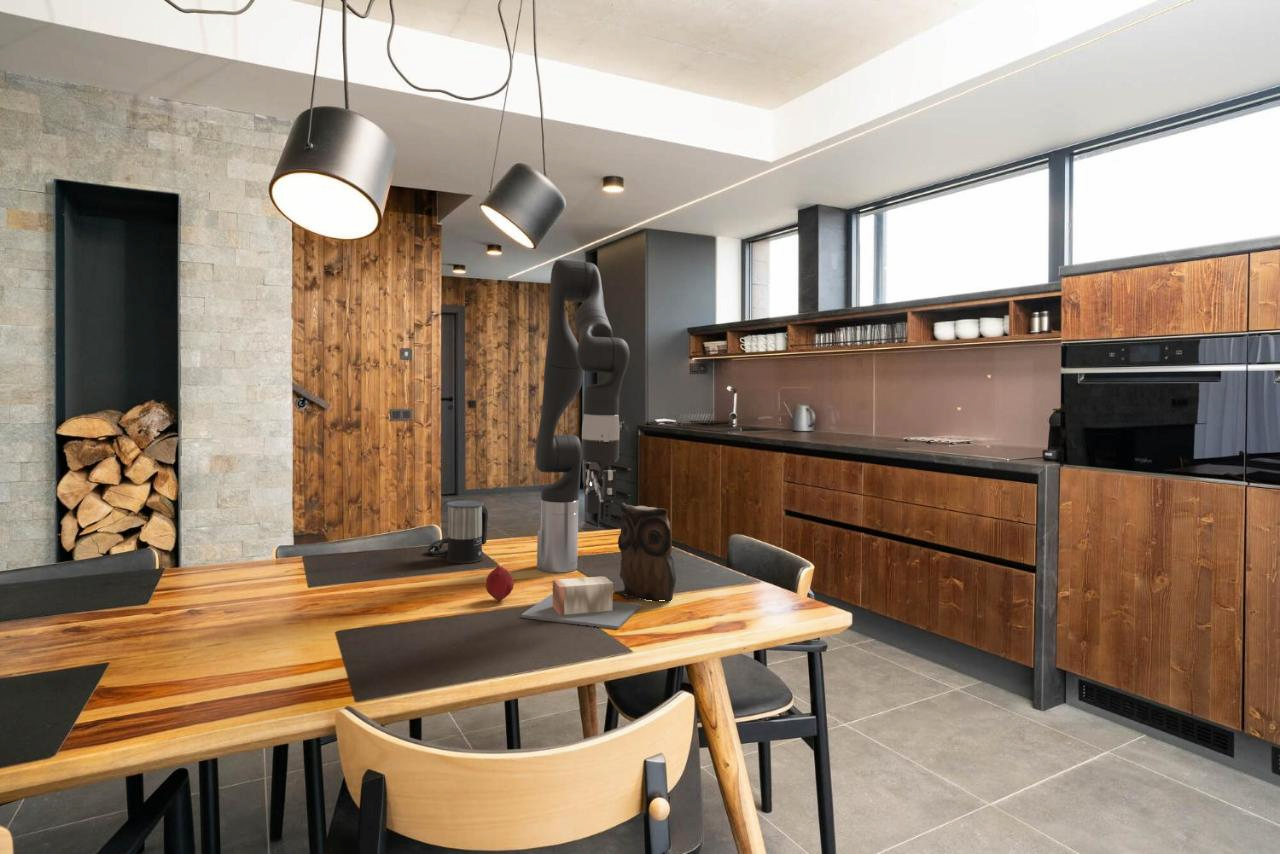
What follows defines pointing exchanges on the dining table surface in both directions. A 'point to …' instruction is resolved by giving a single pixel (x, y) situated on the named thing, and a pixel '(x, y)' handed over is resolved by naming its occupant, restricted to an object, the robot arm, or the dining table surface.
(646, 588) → the owl
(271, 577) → the dining table surface
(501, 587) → the onion
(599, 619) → the mat
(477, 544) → the milk frother
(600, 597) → the block
